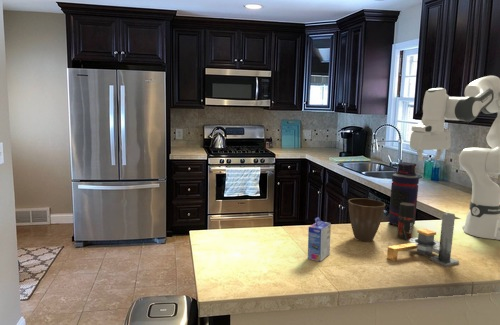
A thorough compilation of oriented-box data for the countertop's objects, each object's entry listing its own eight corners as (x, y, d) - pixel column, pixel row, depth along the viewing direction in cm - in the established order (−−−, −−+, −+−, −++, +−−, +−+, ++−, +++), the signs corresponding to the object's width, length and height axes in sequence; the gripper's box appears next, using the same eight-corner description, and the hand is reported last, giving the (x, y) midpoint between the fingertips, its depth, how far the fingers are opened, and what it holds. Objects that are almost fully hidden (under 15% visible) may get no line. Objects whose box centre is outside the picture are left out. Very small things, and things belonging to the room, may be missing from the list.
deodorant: (399, 234, 182) (402, 201, 180) (413, 237, 178) (416, 204, 176) (395, 237, 178) (398, 204, 175) (409, 241, 174) (412, 206, 172)
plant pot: (351, 231, 185) (354, 196, 183) (385, 237, 177) (388, 201, 175) (341, 240, 172) (343, 202, 170) (377, 247, 165) (380, 208, 162)
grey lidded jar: (423, 250, 163) (426, 228, 162) (433, 254, 159) (436, 232, 157) (415, 252, 161) (417, 229, 160) (424, 256, 157) (427, 233, 155)
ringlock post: (423, 246, 167) (427, 203, 165) (463, 263, 151) (468, 215, 148) (379, 253, 157) (382, 208, 155) (416, 272, 141) (421, 221, 139)
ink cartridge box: (316, 250, 159) (318, 214, 157) (330, 253, 156) (332, 216, 154) (306, 258, 150) (308, 220, 148) (320, 262, 147) (322, 222, 145)
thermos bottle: (406, 229, 190) (411, 165, 185) (383, 223, 199) (388, 162, 194) (421, 225, 198) (427, 163, 194) (398, 219, 208) (404, 160, 203)
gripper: (443, 127, 179) (440, 158, 181) (408, 126, 170) (405, 159, 172) (456, 128, 173) (452, 160, 175) (420, 127, 164) (417, 162, 166)
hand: (429, 160), depth 173 cm, fingers open, 8 cm apart
